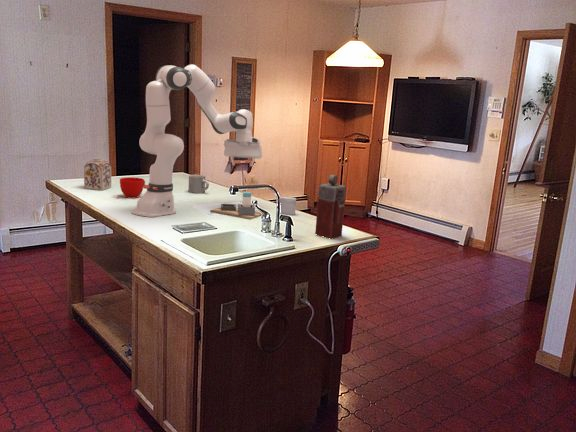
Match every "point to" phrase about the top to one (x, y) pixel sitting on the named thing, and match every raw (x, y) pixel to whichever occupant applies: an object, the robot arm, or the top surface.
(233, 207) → the holster
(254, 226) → the top surface
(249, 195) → the plug
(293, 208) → the medicine box
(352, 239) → the top surface
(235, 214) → the board
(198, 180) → the coffee mug
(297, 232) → the top surface
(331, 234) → the brown rectangular canister
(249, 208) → the block
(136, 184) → the ceramic cup
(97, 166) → the decorative jar
